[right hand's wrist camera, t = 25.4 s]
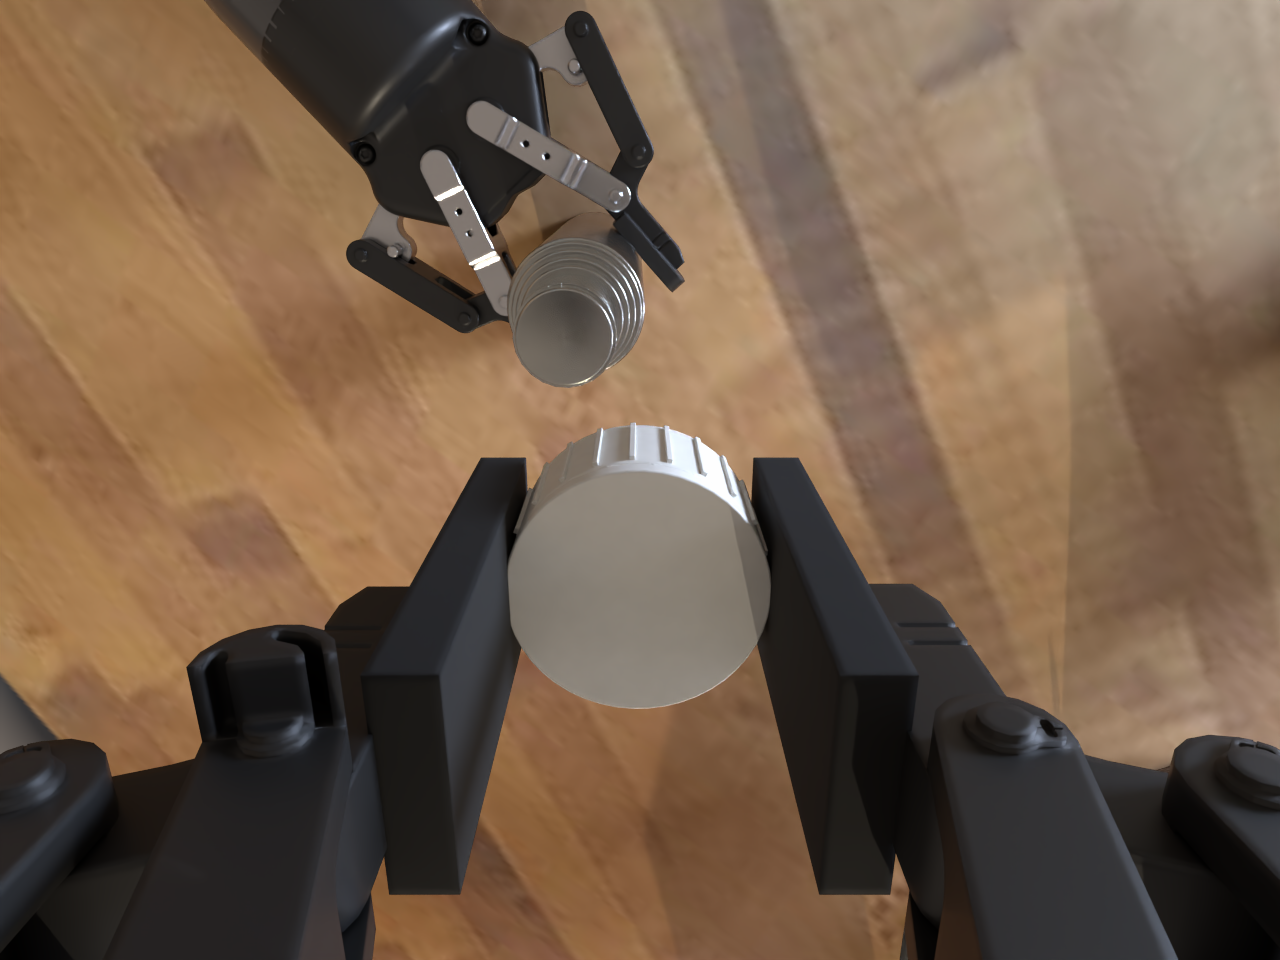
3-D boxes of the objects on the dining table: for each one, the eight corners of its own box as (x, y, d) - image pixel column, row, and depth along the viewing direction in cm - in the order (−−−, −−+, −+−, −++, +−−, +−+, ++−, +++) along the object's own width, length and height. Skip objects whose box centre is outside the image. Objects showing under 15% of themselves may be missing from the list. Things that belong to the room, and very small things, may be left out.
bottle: (537, 287, 43) (460, 385, 24) (566, 198, 41) (509, 226, 22) (623, 319, 43) (614, 439, 24) (654, 232, 42) (671, 288, 23)
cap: (802, 500, 14) (831, 559, 12) (671, 673, 15) (676, 754, 13) (600, 373, 13) (593, 412, 11) (479, 565, 15) (451, 633, 12)
